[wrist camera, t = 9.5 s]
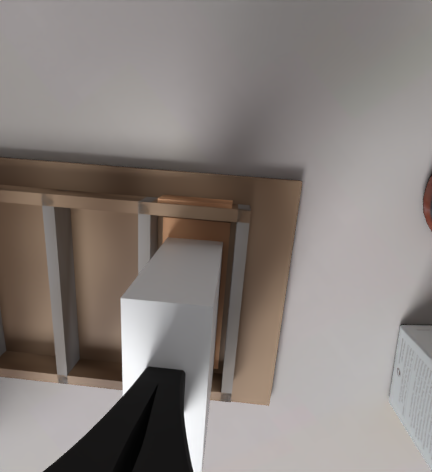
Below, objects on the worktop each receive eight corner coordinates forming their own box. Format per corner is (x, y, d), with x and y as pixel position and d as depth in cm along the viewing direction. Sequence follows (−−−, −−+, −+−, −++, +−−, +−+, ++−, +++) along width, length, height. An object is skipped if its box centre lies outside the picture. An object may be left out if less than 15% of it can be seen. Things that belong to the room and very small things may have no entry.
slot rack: (-28, 365, 21) (-57, 388, 19) (-67, 151, 17) (-108, 152, 15) (268, 398, 20) (271, 426, 18) (300, 180, 16) (308, 185, 14)
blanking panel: (164, 362, 19) (124, 480, 12) (167, 237, 17) (120, 298, 10) (213, 366, 19) (200, 489, 12) (223, 241, 16) (213, 306, 10)
